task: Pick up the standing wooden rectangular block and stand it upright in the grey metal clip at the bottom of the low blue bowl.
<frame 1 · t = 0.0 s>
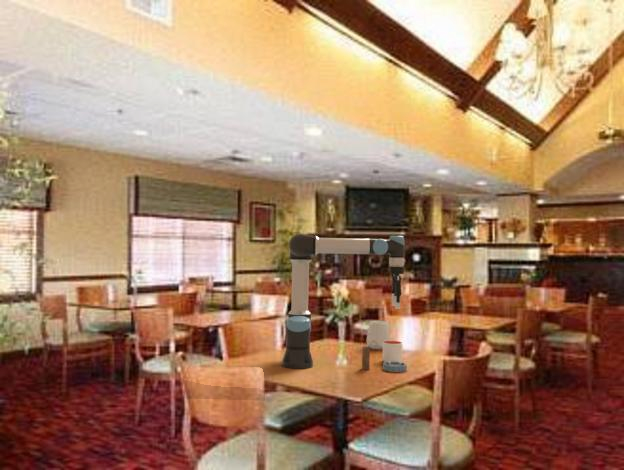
hand: (395, 307, 300), 28 cm above the table, fingers open, 13 cm apart
blue bowl: (394, 369, 282), on the table
vase: (378, 348, 342), on the table
wooden rectangular block: (365, 369, 282), on the table
cup: (392, 362, 301), on the table
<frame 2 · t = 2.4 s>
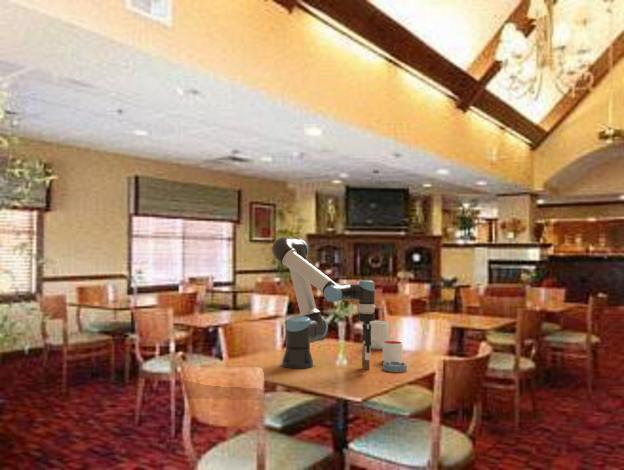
hand: (366, 357, 282), 6 cm above the table, fingers open, 13 cm apart
nothing on the table moved.
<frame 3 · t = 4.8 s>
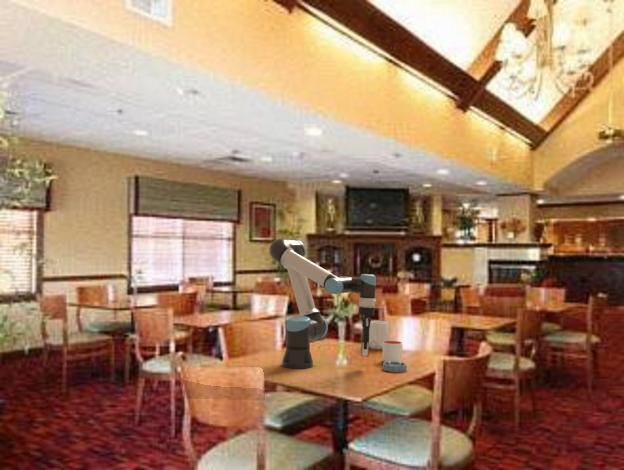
hand: (364, 355, 283), 7 cm above the table, fingers closed on wooden rectangular block, 2 cm apart
wooden rectangular block: (364, 355, 283), point 6 cm above the table, touching gripper
everything else where it was.
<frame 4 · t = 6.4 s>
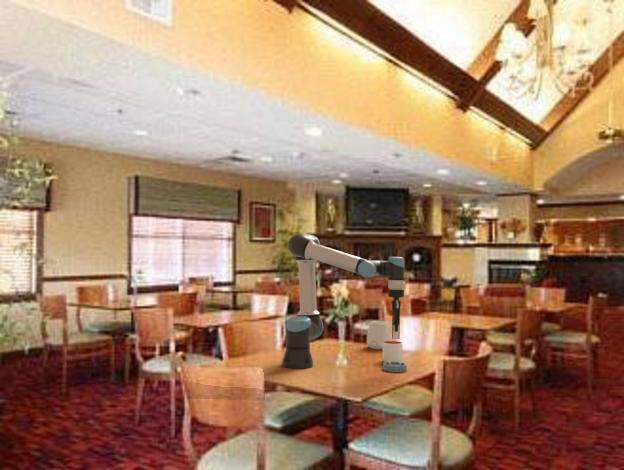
hand: (395, 337, 282), 15 cm above the table, fingers closed on wooden rectangular block, 2 cm apart
wooden rectangular block: (395, 338, 282), point 15 cm above the table, touching gripper
everything else where it was.
when the fingers open (3 cm above the table, at t = 8.3 s): wooden rectangular block drops 2 cm, resting on blue bowl.
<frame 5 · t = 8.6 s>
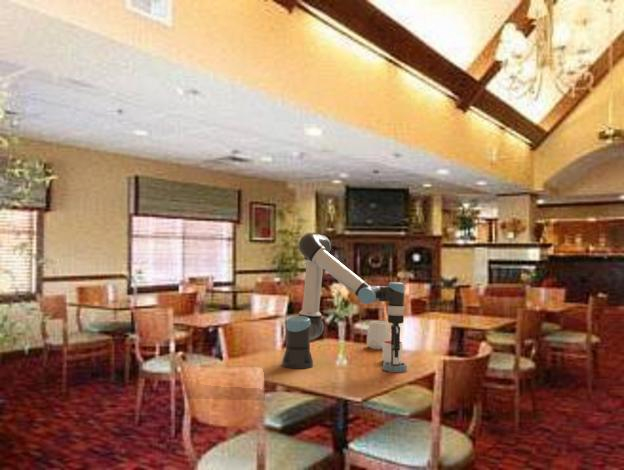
hand: (394, 362, 282), 3 cm above the table, fingers open, 7 cm apart
wooden rectangular block: (395, 368, 282), point 1 cm above the table, touching blue bowl
everything else where it was.
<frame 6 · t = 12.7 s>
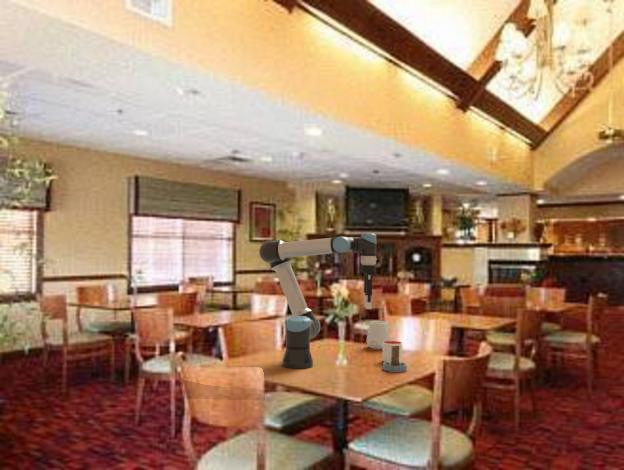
hand: (367, 307, 291), 29 cm above the table, fingers open, 13 cm apart
nothing on the table moved.
at the end: wooden rectangular block 0.1 cm off-centre on the blue bowl, point 0.6 cm above the blue bowl's base; wooden rectangular block tilted 0°; the gripper is holding nothing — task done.
